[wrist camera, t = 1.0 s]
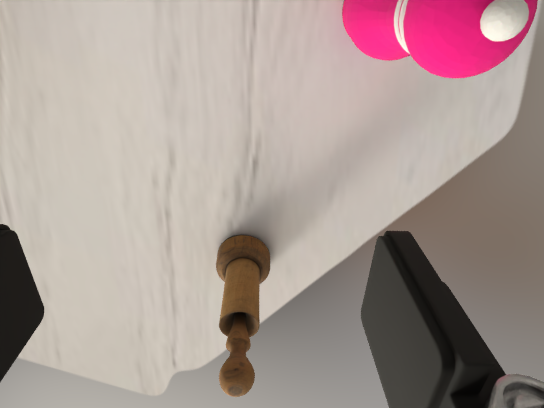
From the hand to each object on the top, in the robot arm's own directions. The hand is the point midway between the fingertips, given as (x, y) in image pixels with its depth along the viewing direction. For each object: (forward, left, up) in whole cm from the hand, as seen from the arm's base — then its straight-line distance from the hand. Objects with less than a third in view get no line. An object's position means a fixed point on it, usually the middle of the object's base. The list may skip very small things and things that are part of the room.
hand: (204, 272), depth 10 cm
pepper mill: (-6, +12, -29) cm, 32 cm away
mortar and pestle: (+22, +1, -29) cm, 36 cm away
